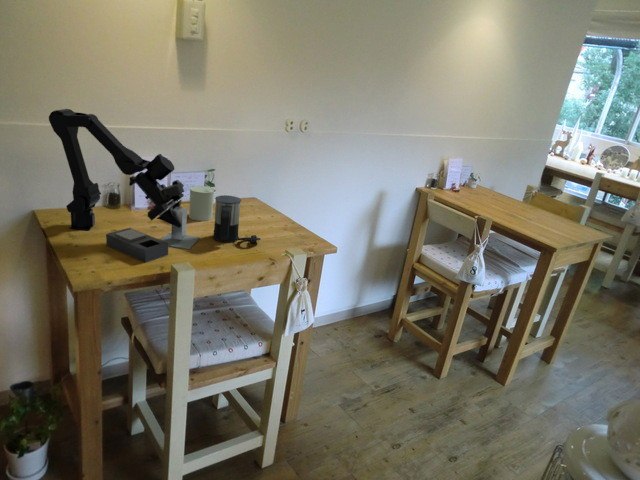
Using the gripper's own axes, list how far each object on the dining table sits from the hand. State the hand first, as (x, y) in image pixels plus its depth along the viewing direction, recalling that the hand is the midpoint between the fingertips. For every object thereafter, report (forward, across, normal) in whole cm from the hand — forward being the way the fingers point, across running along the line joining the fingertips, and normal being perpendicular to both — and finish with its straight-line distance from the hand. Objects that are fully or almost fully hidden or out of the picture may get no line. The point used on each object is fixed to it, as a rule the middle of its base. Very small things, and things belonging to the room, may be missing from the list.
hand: (183, 224), depth 165 cm
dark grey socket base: (-3, -12, +12) cm, 17 cm away
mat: (+4, 0, +5) cm, 7 cm away
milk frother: (+16, +9, -7) cm, 20 cm away
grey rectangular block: (+2, 0, +4) cm, 5 cm away
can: (+3, +28, +6) cm, 28 cm away
